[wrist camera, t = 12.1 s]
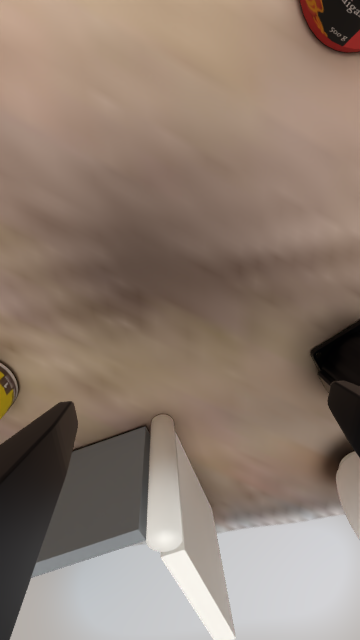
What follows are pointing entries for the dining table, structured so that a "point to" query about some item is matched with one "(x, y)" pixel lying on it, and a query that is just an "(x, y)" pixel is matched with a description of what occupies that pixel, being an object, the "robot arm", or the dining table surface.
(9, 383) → the supplement bottle
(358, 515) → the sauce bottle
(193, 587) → the door frame
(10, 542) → the robot arm
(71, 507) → the door
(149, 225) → the dining table surface
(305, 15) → the canned food
